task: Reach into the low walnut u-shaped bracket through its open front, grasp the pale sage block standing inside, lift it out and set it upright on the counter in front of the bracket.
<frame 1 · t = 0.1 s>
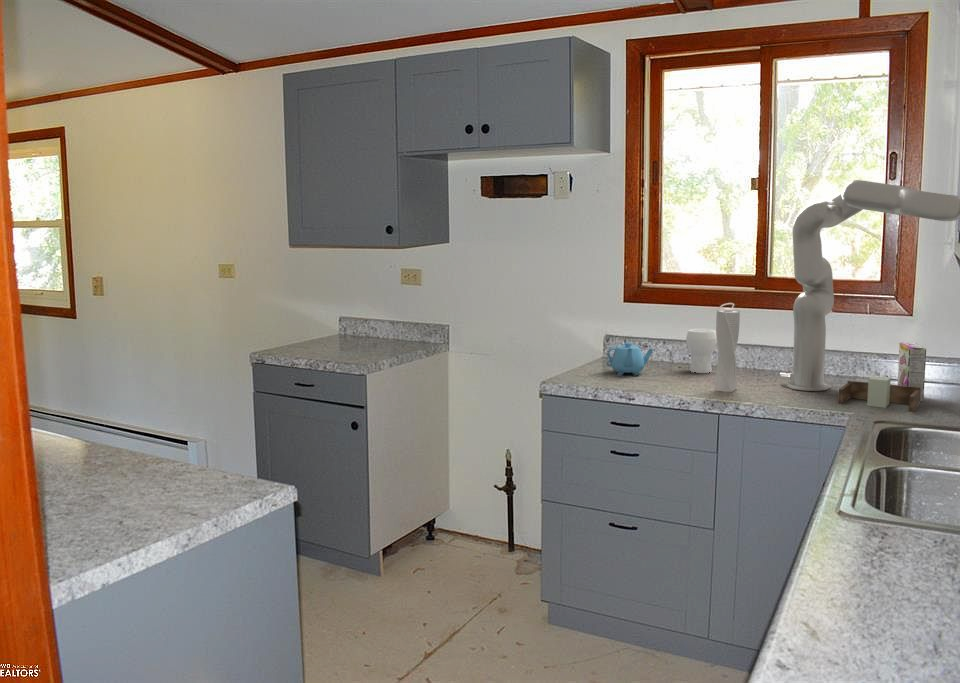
candy bar box: (909, 398, 258), on the worktop
skyscraper: (726, 390, 274), on the worktop
sage block: (878, 405, 249), on the worktop
cup: (700, 372, 306), on the worktop
teapot: (629, 374, 304), on the worktop
walnut u-shaped bracket: (878, 404, 250), on the worktop
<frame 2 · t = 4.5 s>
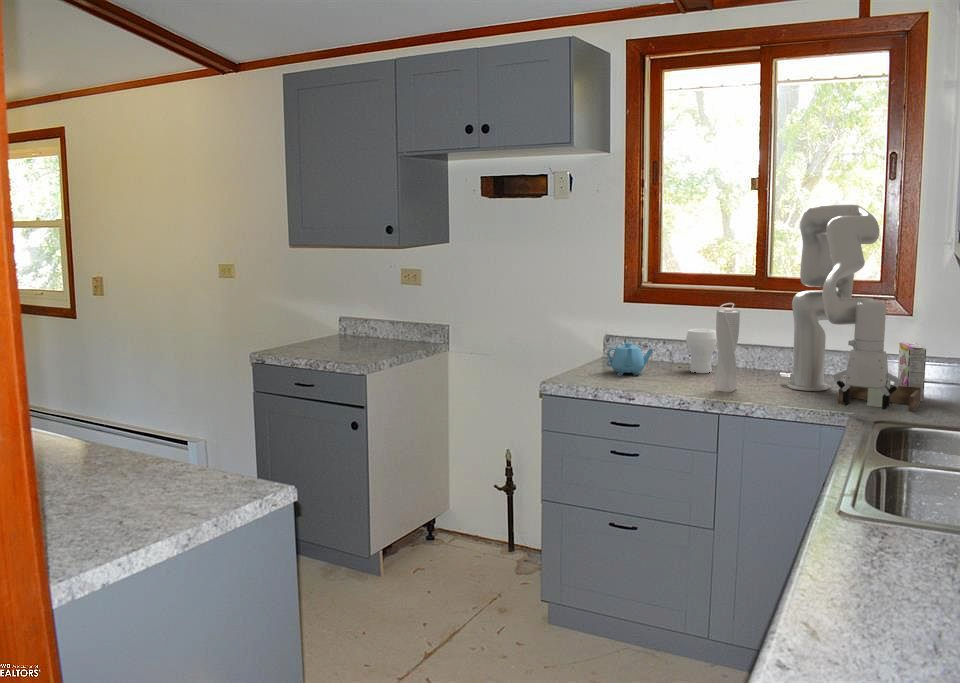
hand: (865, 406, 235), 3 cm above the worktop, fingers open, 9 cm apart
nothing on the worktop moved.
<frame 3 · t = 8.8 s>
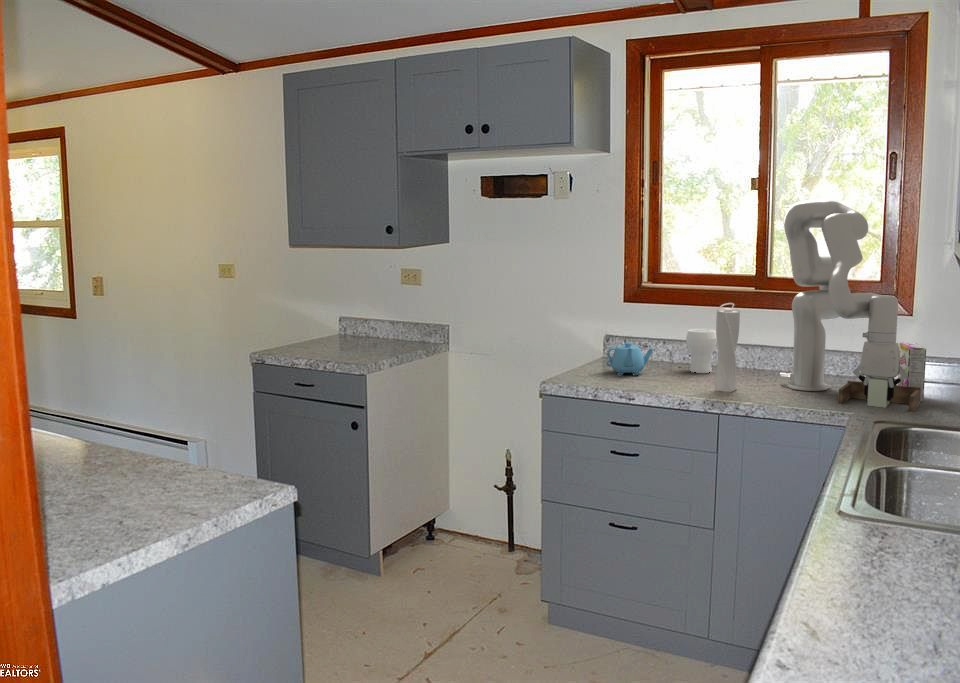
hand: (878, 398, 249), 2 cm above the worktop, fingers closed on sage block, 5 cm apart
sage block: (878, 404, 249), on the worktop, touching gripper
everything else where it was.
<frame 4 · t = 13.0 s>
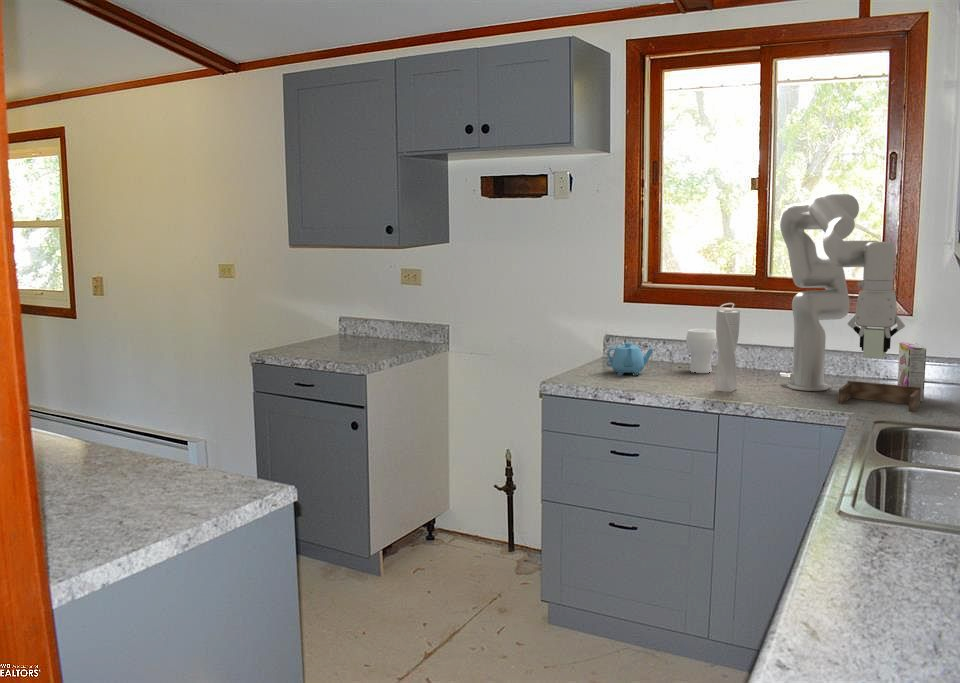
hand: (874, 350, 238), 18 cm above the worktop, fingers closed on sage block, 5 cm apart
sage block: (874, 357, 238), point 16 cm above the worktop, touching gripper
everything else where it was.
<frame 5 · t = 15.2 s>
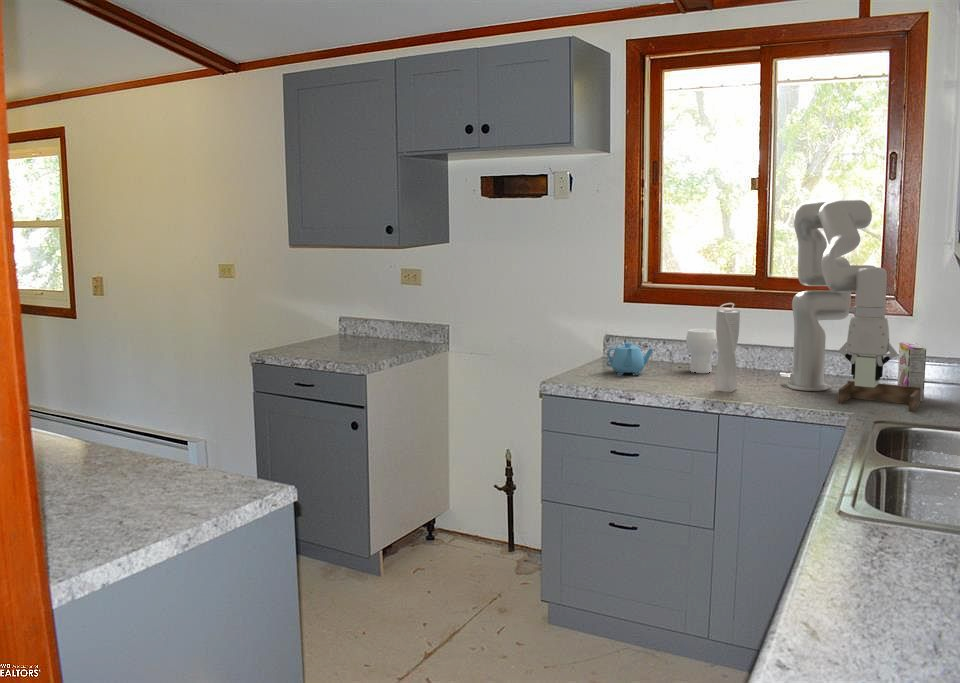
hand: (866, 378, 232), 11 cm above the worktop, fingers closed on sage block, 5 cm apart
sage block: (866, 385, 232), point 9 cm above the worktop, touching gripper
everything else where it was.
when the fingers open (3 cm above the worktop, at t = 17.3 s): sage block drops 1 cm, on the worktop.
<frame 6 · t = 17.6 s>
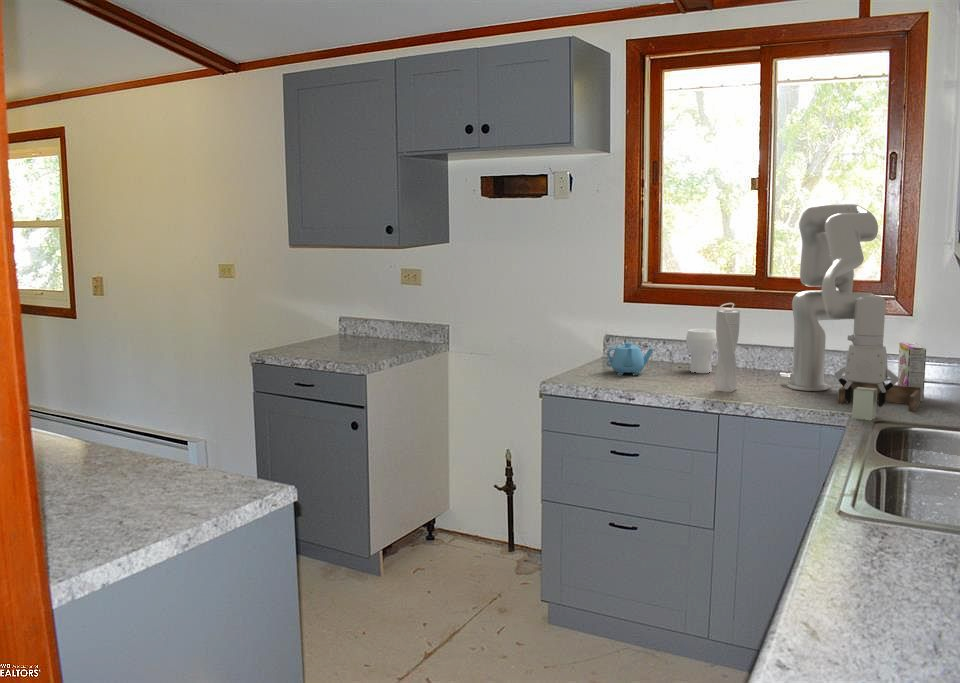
hand: (864, 403, 234), 4 cm above the worktop, fingers open, 7 cm apart
sage block: (864, 417, 234), on the worktop
everything else where it was.
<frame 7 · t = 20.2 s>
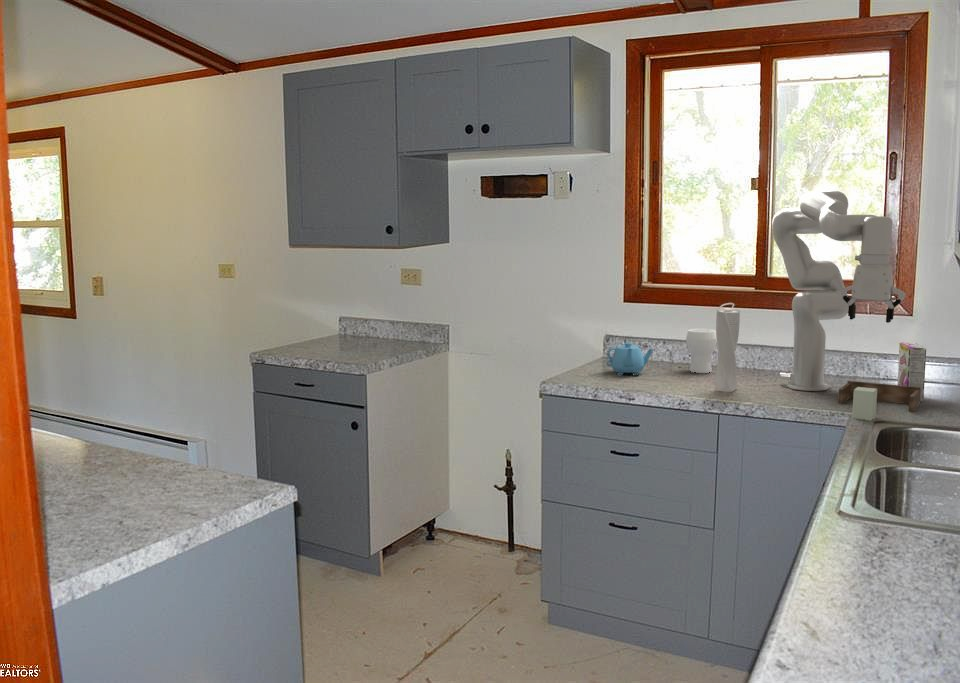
hand: (870, 320, 242), 26 cm above the worktop, fingers open, 9 cm apart
nothing on the worktop moved.
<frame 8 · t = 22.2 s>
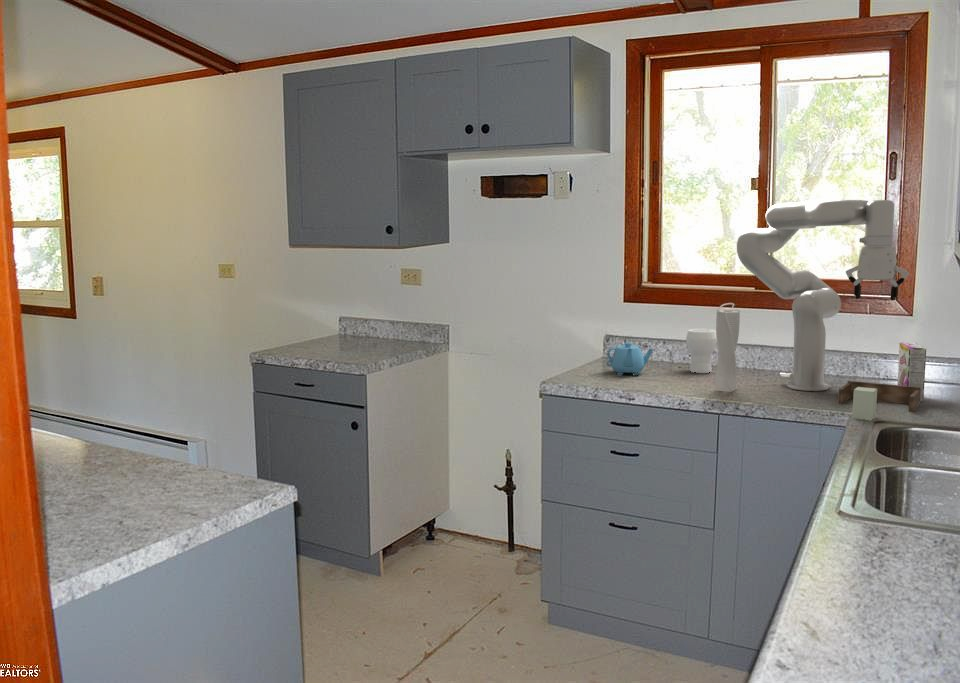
hand: (875, 299, 254), 30 cm above the worktop, fingers open, 9 cm apart
nothing on the worktop moved.
at the end: sage block inside the target area (0.9 cm from its centre), on the worktop; sage block tilted 0°; the gripper is holding nothing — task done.
